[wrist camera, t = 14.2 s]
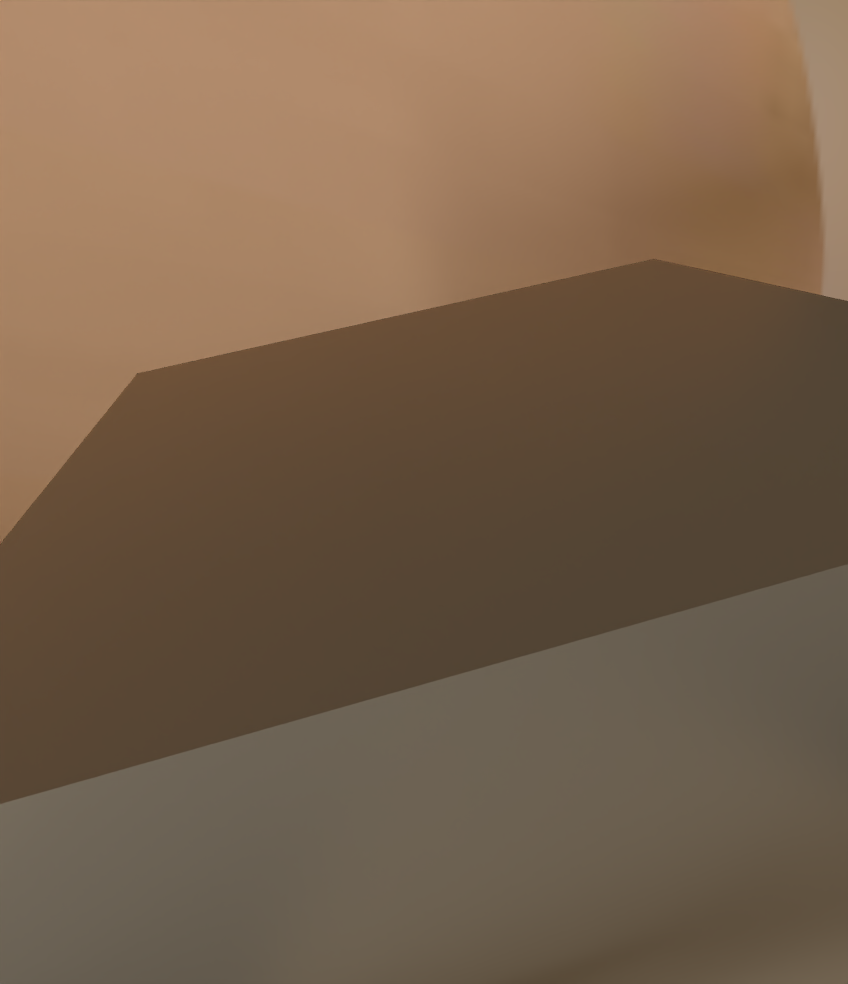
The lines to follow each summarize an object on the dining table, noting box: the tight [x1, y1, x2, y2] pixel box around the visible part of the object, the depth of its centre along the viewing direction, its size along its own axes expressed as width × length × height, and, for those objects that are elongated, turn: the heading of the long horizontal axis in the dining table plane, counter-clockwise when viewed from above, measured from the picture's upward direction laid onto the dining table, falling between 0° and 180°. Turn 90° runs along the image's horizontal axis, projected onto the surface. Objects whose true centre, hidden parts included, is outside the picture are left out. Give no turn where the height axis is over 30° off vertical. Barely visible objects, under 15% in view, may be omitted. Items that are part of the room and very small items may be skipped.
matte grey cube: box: [0, 259, 848, 984], centre depth 10 cm, size 10×10×9 cm
